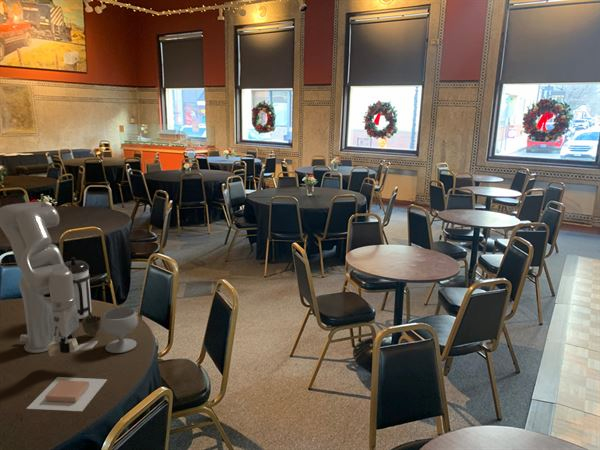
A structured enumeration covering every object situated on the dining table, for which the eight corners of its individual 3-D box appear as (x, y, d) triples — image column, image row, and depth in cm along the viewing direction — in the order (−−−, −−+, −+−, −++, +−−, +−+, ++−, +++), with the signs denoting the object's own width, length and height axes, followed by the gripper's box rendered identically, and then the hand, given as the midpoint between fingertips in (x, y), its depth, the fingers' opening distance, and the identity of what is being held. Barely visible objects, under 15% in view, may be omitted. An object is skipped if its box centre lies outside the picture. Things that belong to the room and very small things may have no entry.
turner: (48, 358, 162) (44, 348, 161) (56, 351, 167) (52, 341, 166) (91, 348, 161) (87, 338, 160) (98, 342, 166) (94, 332, 165)
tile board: (26, 412, 142) (26, 408, 141) (58, 380, 159) (57, 377, 159) (82, 415, 141) (82, 411, 141) (107, 383, 159) (107, 379, 159)
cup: (87, 332, 196) (85, 315, 194) (104, 331, 196) (103, 315, 195) (80, 340, 189) (78, 322, 187) (98, 340, 189) (96, 322, 187)
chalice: (135, 354, 179) (133, 319, 175) (99, 356, 177) (96, 321, 173) (141, 337, 192) (140, 305, 189) (107, 339, 190) (105, 306, 187)
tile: (60, 385, 154) (45, 401, 145) (60, 380, 153) (45, 395, 145) (89, 387, 154) (76, 403, 145) (89, 381, 153) (75, 397, 144)
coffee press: (50, 323, 202) (44, 260, 196) (75, 309, 218) (70, 251, 211) (83, 328, 199) (78, 264, 192) (106, 314, 214) (102, 254, 207)
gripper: (61, 313, 152) (65, 361, 156) (84, 295, 168) (88, 340, 172) (39, 312, 152) (44, 361, 156) (65, 294, 168) (69, 339, 172)
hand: (67, 349), depth 164 cm, fingers closed on turner, 2 cm apart
